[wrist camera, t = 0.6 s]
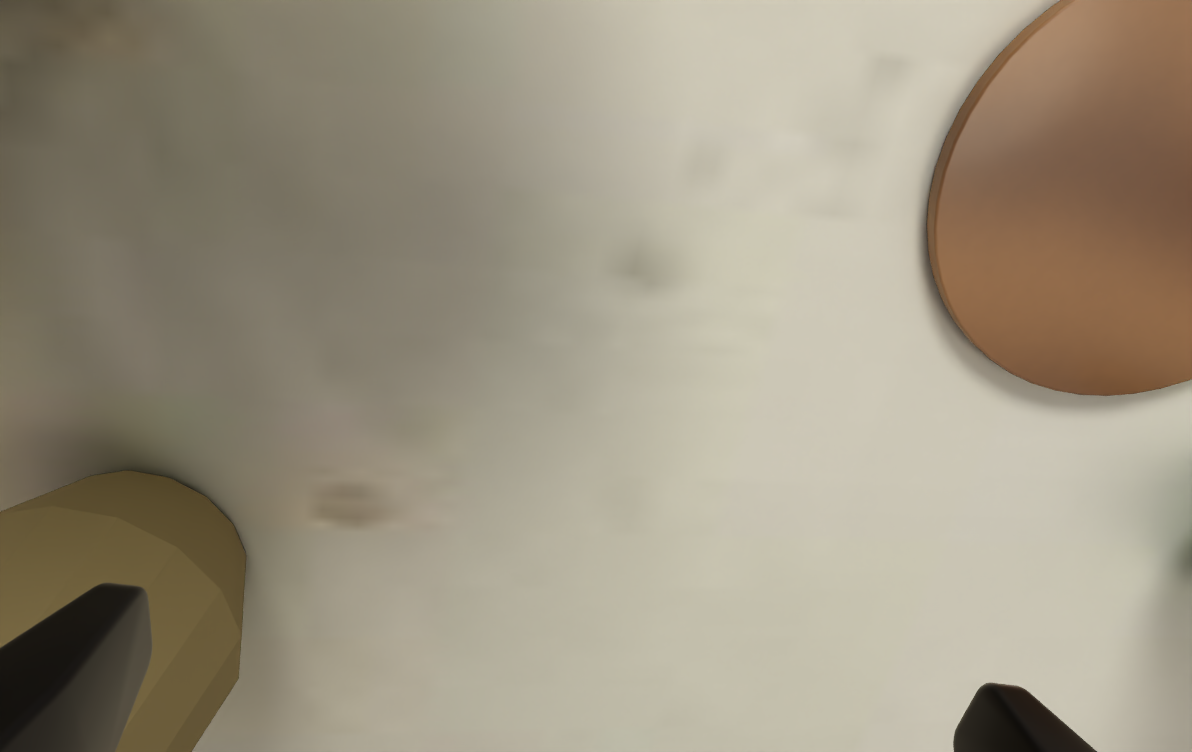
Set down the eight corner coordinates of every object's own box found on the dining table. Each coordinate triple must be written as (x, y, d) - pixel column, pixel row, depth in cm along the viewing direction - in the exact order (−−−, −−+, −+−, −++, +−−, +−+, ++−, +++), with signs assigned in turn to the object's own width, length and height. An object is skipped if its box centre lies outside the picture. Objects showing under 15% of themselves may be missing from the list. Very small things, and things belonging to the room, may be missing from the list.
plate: (1256, 405, 24) (1272, 415, 24) (878, 365, 24) (885, 375, 23) (1470, -19, 20) (1495, -19, 19) (1005, -82, 19) (1017, -83, 19)
